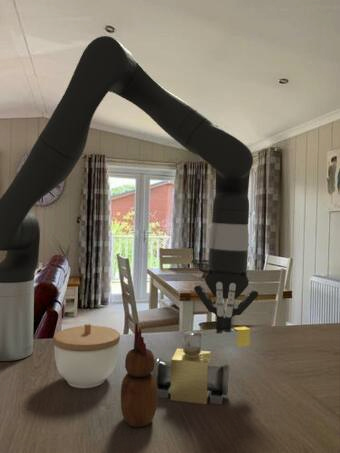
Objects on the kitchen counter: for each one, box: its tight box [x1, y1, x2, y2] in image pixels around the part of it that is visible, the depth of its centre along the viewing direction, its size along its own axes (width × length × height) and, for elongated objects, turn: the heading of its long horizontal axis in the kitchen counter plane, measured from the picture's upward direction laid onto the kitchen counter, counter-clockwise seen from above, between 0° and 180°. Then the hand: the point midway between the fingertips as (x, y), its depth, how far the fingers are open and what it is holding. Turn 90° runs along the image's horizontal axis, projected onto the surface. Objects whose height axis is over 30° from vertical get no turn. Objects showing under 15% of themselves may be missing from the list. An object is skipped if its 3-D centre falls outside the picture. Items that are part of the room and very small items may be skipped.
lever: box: [182, 326, 251, 355], centre depth 72 cm, size 14×3×3 cm, turn 113°
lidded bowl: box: [53, 323, 121, 389], centre depth 75 cm, size 13×13×11 cm
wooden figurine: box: [120, 322, 158, 428], centre depth 60 cm, size 7×6×15 cm
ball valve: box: [151, 348, 230, 405], centre depth 70 cm, size 14×6×8 cm, turn 79°
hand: (223, 334), depth 75 cm, fingers closed
